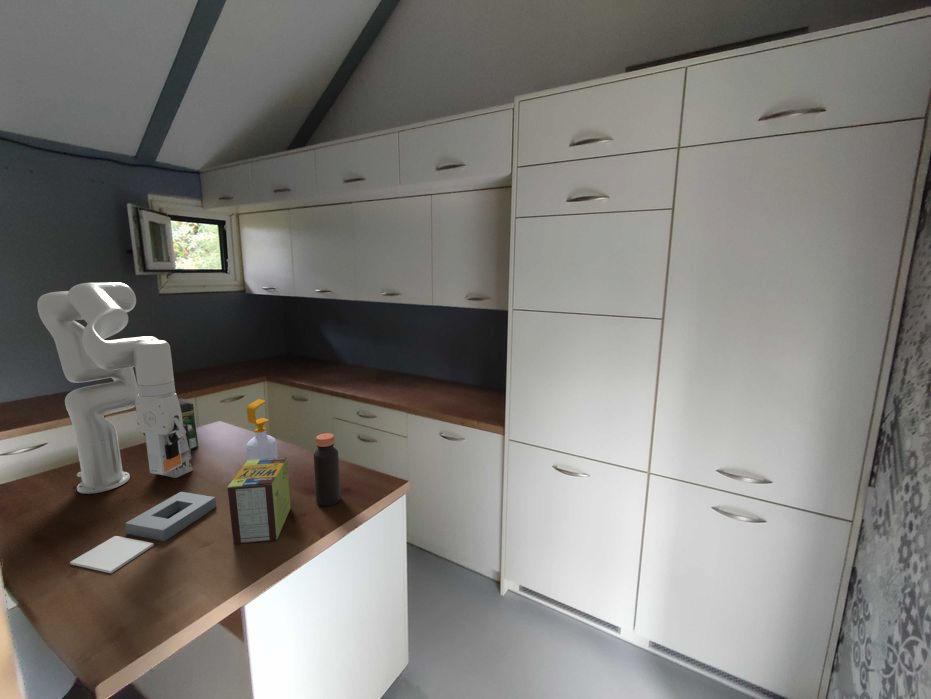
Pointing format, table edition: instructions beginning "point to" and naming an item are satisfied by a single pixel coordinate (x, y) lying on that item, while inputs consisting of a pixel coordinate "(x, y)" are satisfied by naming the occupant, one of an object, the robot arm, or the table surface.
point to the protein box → (259, 500)
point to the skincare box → (160, 454)
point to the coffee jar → (189, 421)
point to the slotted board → (162, 528)
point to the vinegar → (326, 471)
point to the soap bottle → (260, 436)
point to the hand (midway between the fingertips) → (165, 455)
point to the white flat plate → (112, 554)
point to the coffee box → (183, 457)
